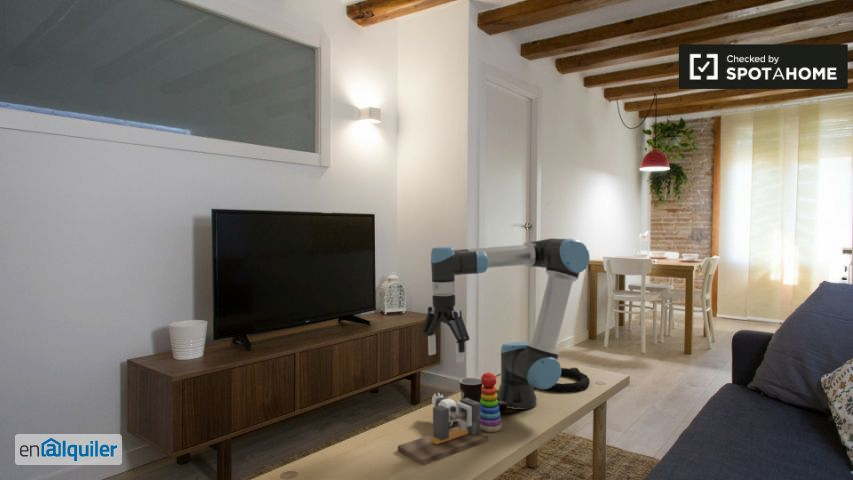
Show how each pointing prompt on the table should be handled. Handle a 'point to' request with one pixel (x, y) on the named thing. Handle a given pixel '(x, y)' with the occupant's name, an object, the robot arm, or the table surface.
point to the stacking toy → (489, 405)
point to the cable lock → (570, 386)
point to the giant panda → (445, 405)
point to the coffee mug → (471, 388)
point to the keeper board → (429, 451)
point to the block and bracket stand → (442, 423)
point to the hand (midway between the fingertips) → (445, 358)
